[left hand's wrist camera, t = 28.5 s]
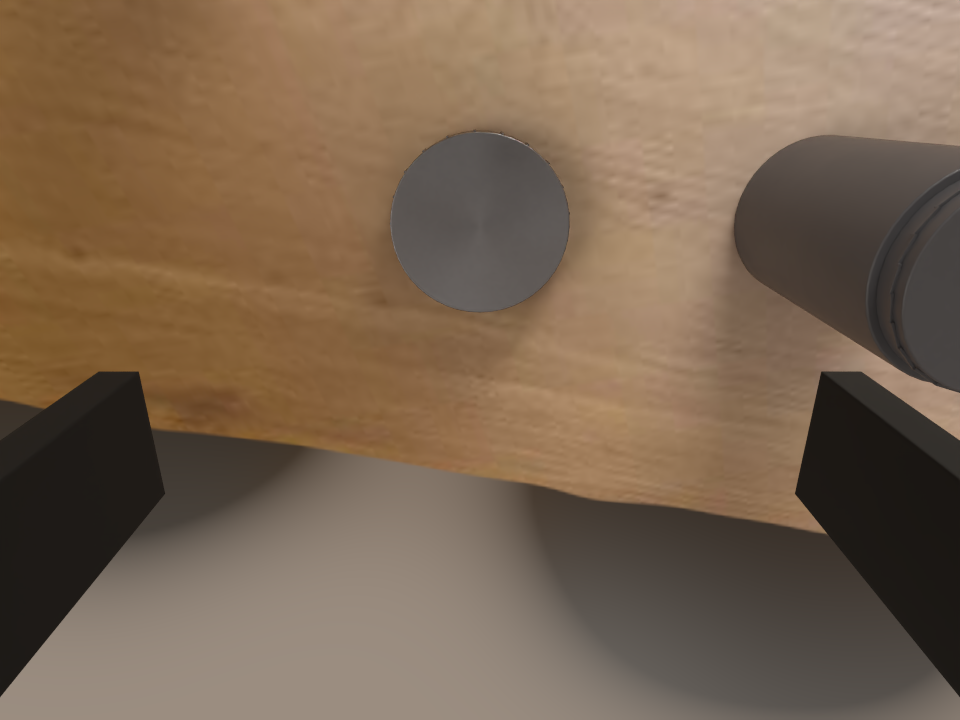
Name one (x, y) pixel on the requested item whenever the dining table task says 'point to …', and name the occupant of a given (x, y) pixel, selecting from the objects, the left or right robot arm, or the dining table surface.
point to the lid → (479, 221)
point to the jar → (864, 244)
